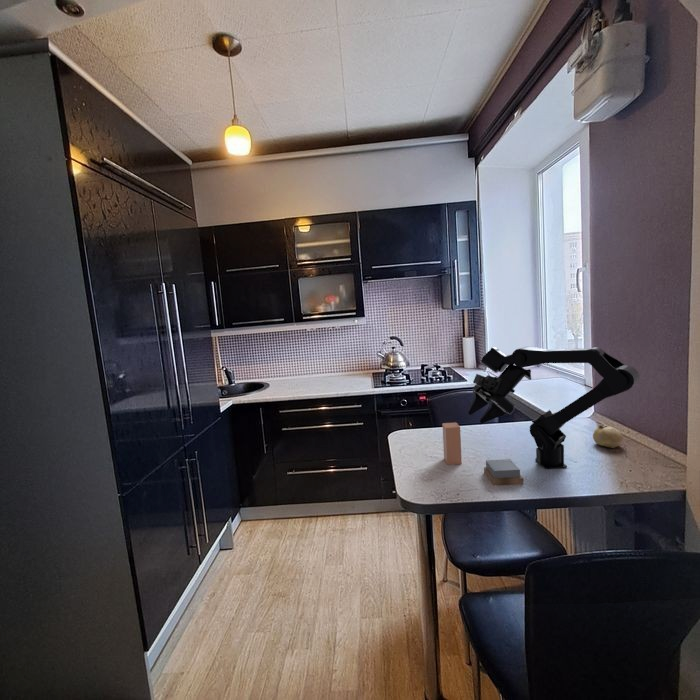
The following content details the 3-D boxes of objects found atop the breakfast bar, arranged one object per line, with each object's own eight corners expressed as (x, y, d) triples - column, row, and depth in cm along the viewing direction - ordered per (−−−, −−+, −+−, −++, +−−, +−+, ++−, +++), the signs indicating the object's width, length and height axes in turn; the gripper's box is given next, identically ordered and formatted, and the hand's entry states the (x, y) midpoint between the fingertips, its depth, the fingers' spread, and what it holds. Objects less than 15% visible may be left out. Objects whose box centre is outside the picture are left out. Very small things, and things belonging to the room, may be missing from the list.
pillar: (457, 457, 120) (456, 422, 119) (461, 463, 116) (460, 427, 115) (444, 458, 121) (442, 423, 119) (447, 464, 116) (445, 427, 115)
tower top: (510, 466, 108) (510, 459, 108) (520, 477, 101) (519, 469, 101) (486, 467, 109) (485, 460, 108) (494, 478, 102) (494, 470, 101)
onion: (613, 440, 125) (613, 420, 124) (628, 450, 117) (628, 428, 116) (588, 441, 126) (588, 421, 125) (601, 450, 118) (601, 429, 117)
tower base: (511, 472, 109) (511, 465, 109) (523, 485, 101) (523, 478, 101) (484, 474, 109) (484, 467, 109) (493, 487, 101) (493, 479, 101)
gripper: (477, 360, 125) (446, 395, 125) (503, 369, 106) (467, 410, 107) (500, 381, 126) (470, 415, 127) (530, 394, 107) (494, 434, 108)
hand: (474, 418), depth 117 cm, fingers open, 9 cm apart
